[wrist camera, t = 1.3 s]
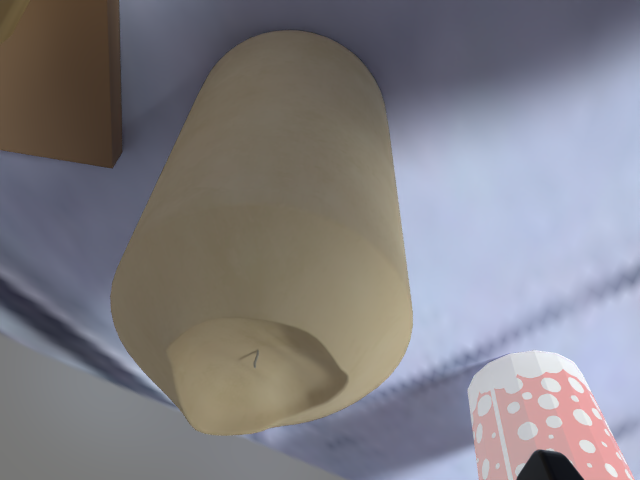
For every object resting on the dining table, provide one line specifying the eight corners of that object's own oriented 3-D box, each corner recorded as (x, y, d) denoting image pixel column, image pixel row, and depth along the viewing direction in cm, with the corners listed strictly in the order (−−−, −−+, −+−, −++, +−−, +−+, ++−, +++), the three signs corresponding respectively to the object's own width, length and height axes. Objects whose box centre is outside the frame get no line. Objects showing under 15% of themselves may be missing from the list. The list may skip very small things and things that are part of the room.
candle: (298, 228, 20) (269, 516, 12) (161, 121, 18) (19, 388, 10) (425, 119, 18) (492, 392, 10) (284, -19, 16) (223, 188, 8)
